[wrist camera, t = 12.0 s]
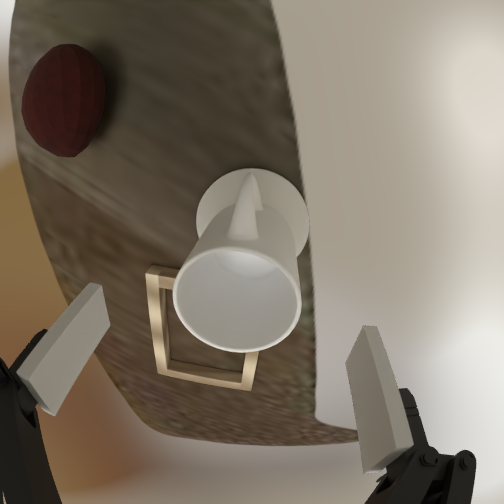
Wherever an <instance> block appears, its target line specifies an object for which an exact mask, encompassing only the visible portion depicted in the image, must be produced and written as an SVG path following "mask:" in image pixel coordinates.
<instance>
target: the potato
mask: <svg viewBox="0 0 504 504" xmlns="http://www.w3.org/2000/svg"><path fill="white" fill-rule="evenodd" d="M105 96H106V83H105V78H104V73H103V71H102V68H101V66H100V64H99V62H98V61H97V60H96V58H95V57H94V56H93V55H92V54H91V53H90V52H89V51H88V50H86V49H84V48H82V47H80V46H78V45H76V44H62V45H58V46H56V47H53V48H52V49H51V50H50V51H48V52H47V53H46V54H45V55H44V56H43V57H42V58H41V59H40V60H39V61H38V62H37V63H36V65H35V66H34V68H33V70H32V71H31V73H30V75H29V78H28V80H27V83H26V85H25V89H24V93H23V97H22V110H21V112H22V116H23V120H24V123H25V126H26V129H27V131H28V132H29V133H30V135H31V136H32V137H33V139H34V140H35V141H36V143H37V144H38V145H39V146H41V147H42V148H44V149H46V150H47V151H49V152H51V153H53V154H55V155H57V156H62V157H75V156H77V155H78V154H79V153H80V152H82V151H83V150H84V149H85V148H86V147H87V146H88V145H89V143H90V141H91V139H92V137H93V136H94V134H95V132H96V130H97V128H98V125H99V122H100V119H101V116H102V114H103V111H104V104H105Z"/></svg>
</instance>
